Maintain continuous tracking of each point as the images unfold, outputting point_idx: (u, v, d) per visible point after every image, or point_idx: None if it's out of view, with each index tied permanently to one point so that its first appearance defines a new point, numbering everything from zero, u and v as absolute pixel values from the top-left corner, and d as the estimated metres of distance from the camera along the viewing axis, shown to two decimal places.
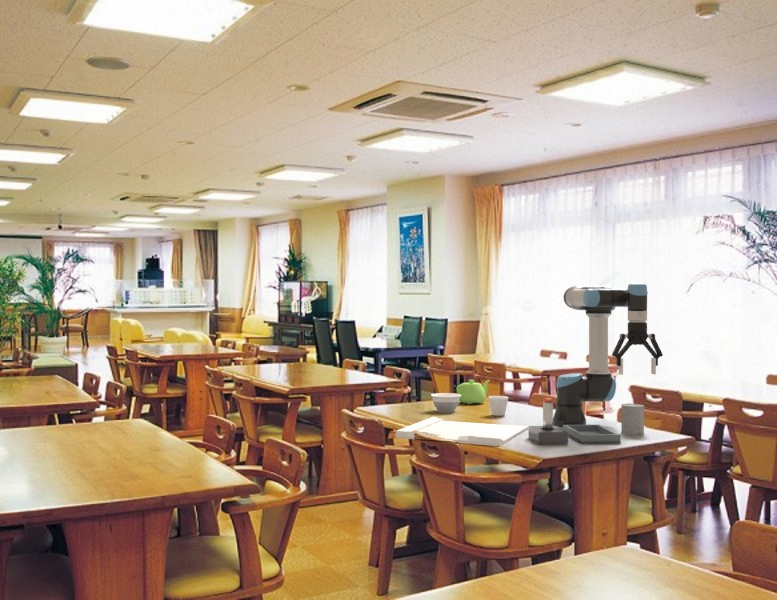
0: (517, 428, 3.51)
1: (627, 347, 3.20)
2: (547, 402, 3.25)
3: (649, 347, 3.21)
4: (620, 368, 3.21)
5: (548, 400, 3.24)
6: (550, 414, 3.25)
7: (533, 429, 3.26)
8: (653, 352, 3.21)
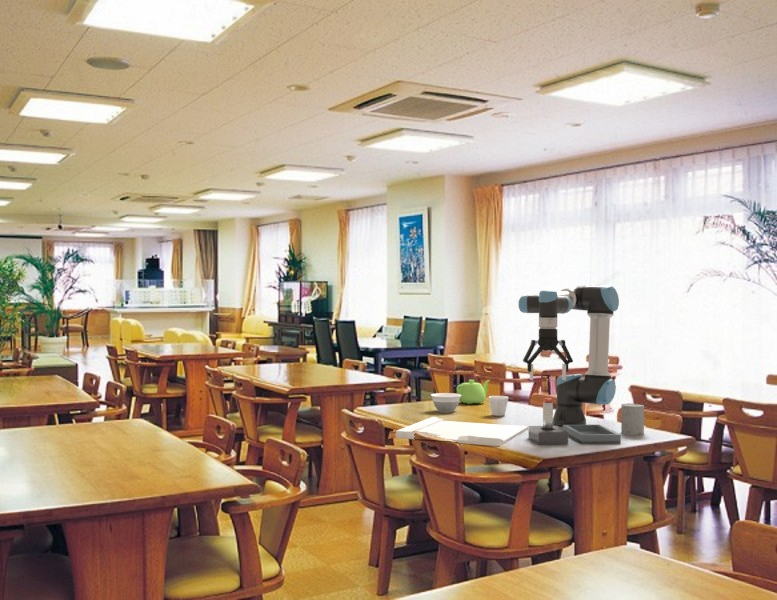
0: (517, 428, 3.51)
1: (537, 353, 3.25)
2: (547, 402, 3.25)
3: (559, 353, 3.25)
4: (530, 374, 3.25)
5: (548, 400, 3.24)
6: (550, 414, 3.25)
7: (533, 429, 3.26)
8: (563, 358, 3.26)
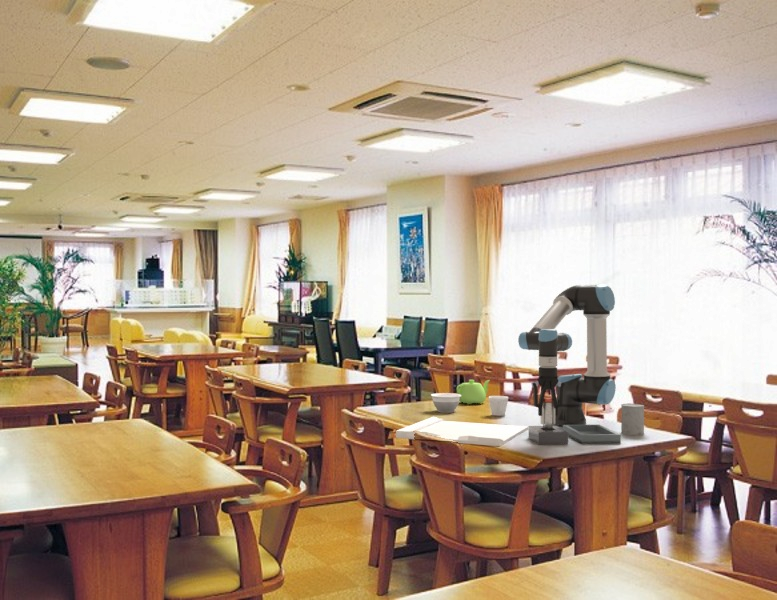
0: (517, 428, 3.51)
1: (543, 395, 3.25)
2: (547, 402, 3.25)
3: (554, 395, 3.25)
4: (541, 418, 3.26)
5: (548, 400, 3.24)
6: (550, 414, 3.25)
7: (533, 429, 3.26)
8: (555, 401, 3.25)
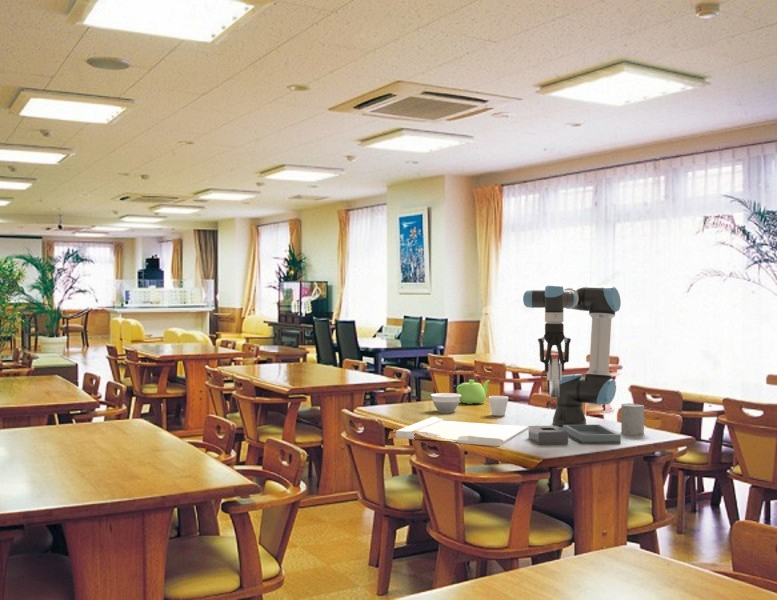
0: (517, 428, 3.51)
1: (549, 350, 3.26)
2: (553, 358, 3.26)
3: (560, 350, 3.26)
4: (548, 374, 3.27)
5: (554, 356, 3.26)
6: (557, 370, 3.26)
7: (533, 429, 3.26)
8: (561, 357, 3.27)
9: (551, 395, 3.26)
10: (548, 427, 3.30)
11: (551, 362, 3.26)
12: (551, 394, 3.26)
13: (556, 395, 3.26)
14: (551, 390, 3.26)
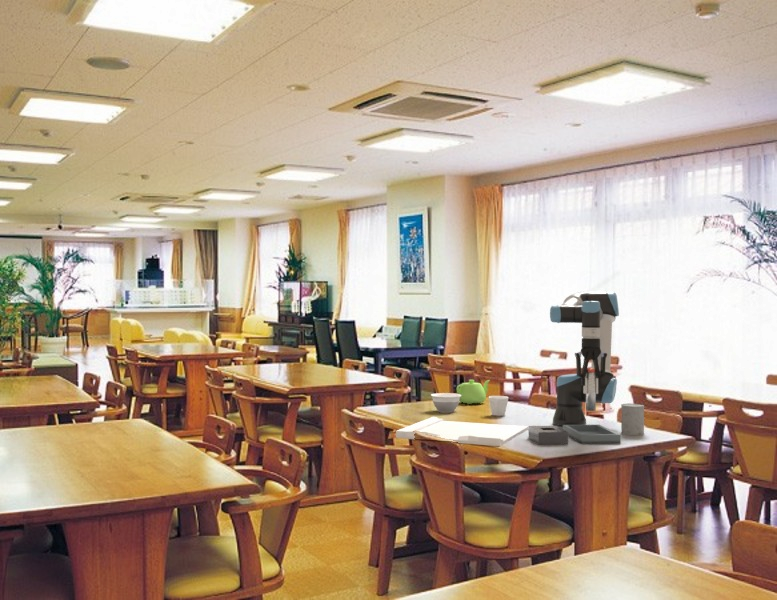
0: (517, 428, 3.51)
1: (586, 365, 3.32)
2: (590, 372, 3.32)
3: (597, 365, 3.33)
4: (584, 388, 3.33)
5: (591, 370, 3.32)
6: (594, 384, 3.32)
7: (533, 429, 3.26)
8: (598, 371, 3.33)
9: (588, 409, 3.32)
10: (548, 427, 3.30)
11: (588, 376, 3.32)
12: (588, 408, 3.32)
13: (593, 409, 3.32)
14: (588, 404, 3.32)
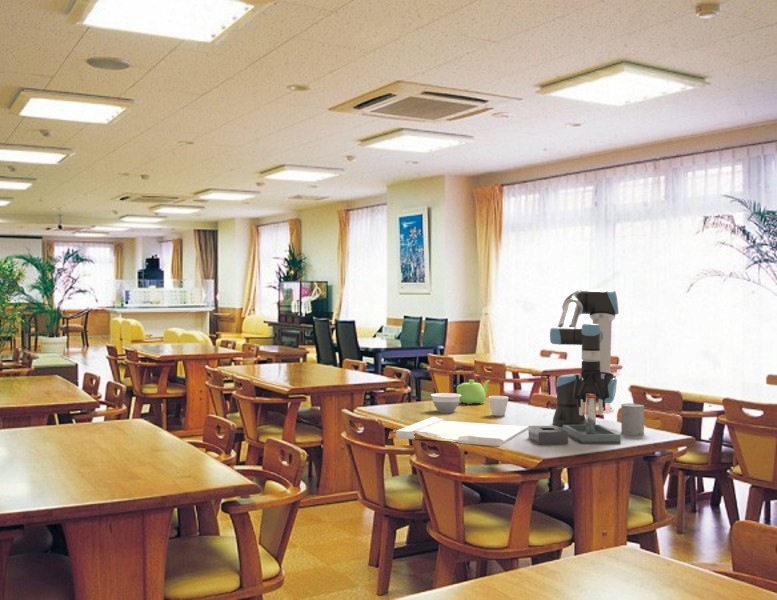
0: (517, 428, 3.51)
1: (584, 387, 3.32)
2: (590, 397, 3.32)
3: (599, 387, 3.33)
4: (580, 409, 3.33)
5: (591, 396, 3.32)
6: (594, 409, 3.32)
7: (533, 429, 3.26)
8: (601, 393, 3.33)
9: None
10: (548, 427, 3.30)
11: (588, 401, 3.33)
12: (588, 433, 3.33)
13: None
14: (588, 429, 3.33)
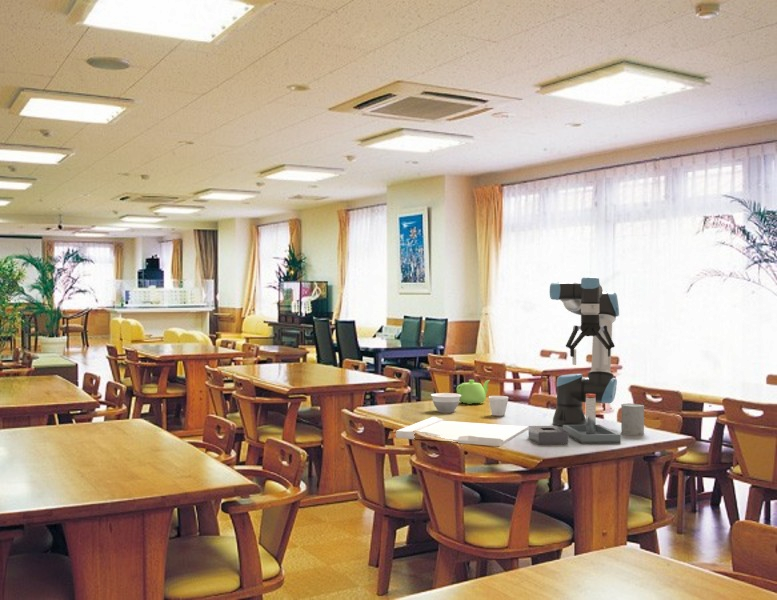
0: (517, 428, 3.51)
1: (580, 338, 3.33)
2: (590, 397, 3.32)
3: (601, 338, 3.33)
4: (573, 359, 3.33)
5: (591, 396, 3.32)
6: (593, 409, 3.32)
7: (533, 429, 3.26)
8: (605, 343, 3.34)
9: None
10: (548, 427, 3.30)
11: (588, 401, 3.33)
12: (588, 433, 3.33)
13: None
14: (588, 429, 3.33)
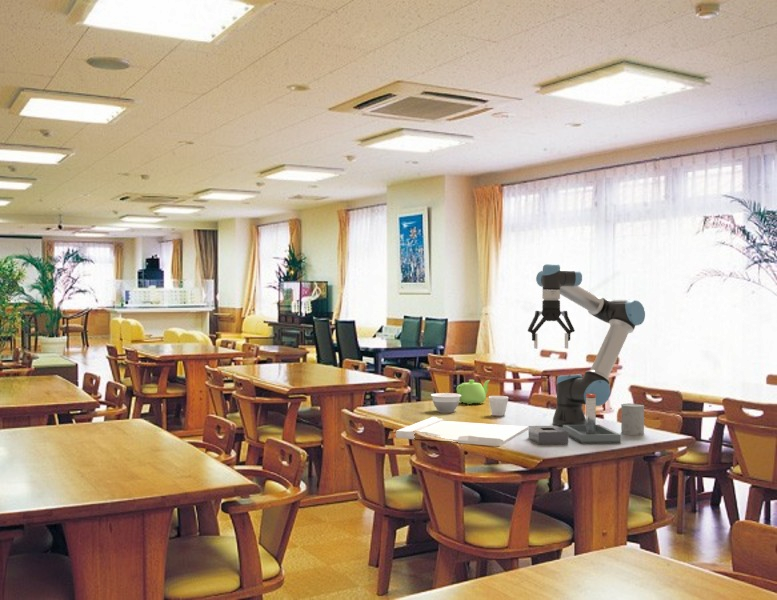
0: (517, 428, 3.51)
1: (541, 323, 3.45)
2: (590, 397, 3.32)
3: (562, 323, 3.46)
4: (535, 343, 3.46)
5: (591, 396, 3.32)
6: (593, 409, 3.32)
7: (533, 429, 3.26)
8: (566, 328, 3.46)
9: None
10: (548, 427, 3.30)
11: (588, 401, 3.32)
12: (588, 433, 3.33)
13: None
14: (588, 429, 3.33)
